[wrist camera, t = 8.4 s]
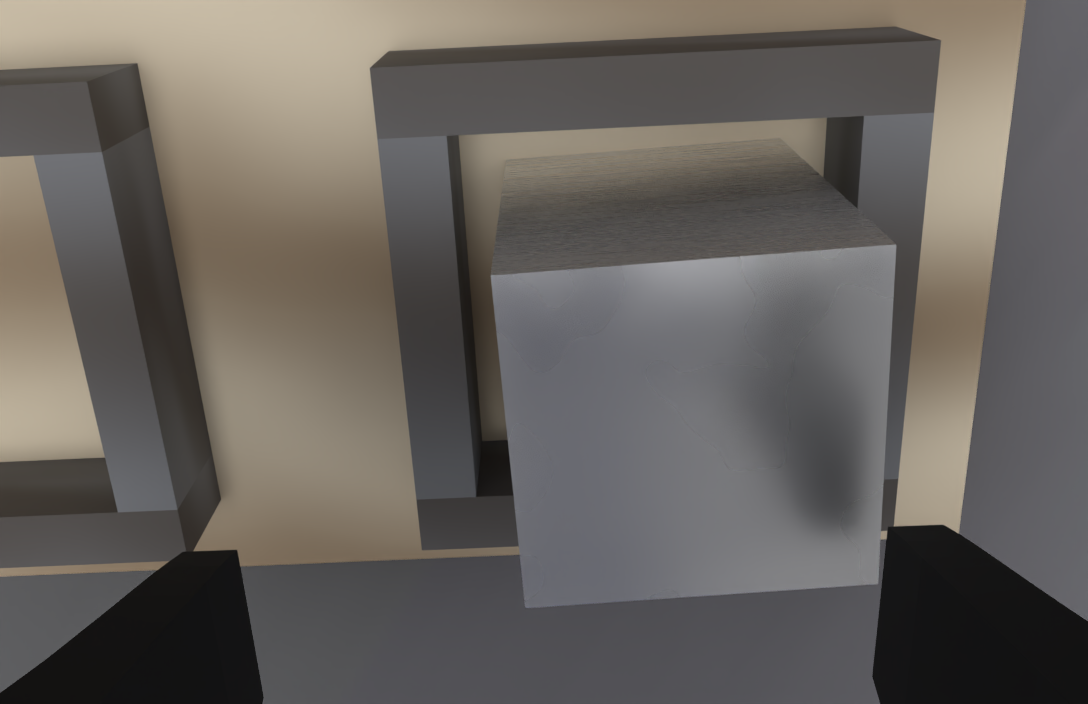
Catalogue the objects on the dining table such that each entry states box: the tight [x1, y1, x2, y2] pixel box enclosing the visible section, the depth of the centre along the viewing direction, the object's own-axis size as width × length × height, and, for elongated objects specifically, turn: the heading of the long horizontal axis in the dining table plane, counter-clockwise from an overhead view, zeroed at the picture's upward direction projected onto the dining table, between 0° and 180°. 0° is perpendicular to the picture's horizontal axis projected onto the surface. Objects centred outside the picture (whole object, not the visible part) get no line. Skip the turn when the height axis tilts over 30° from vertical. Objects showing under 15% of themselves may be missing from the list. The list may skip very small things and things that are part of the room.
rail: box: [0, 0, 1026, 577], centre depth 18 cm, size 11×24×3 cm, turn 93°
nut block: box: [491, 138, 896, 608], centre depth 15 cm, size 4×4×6 cm
